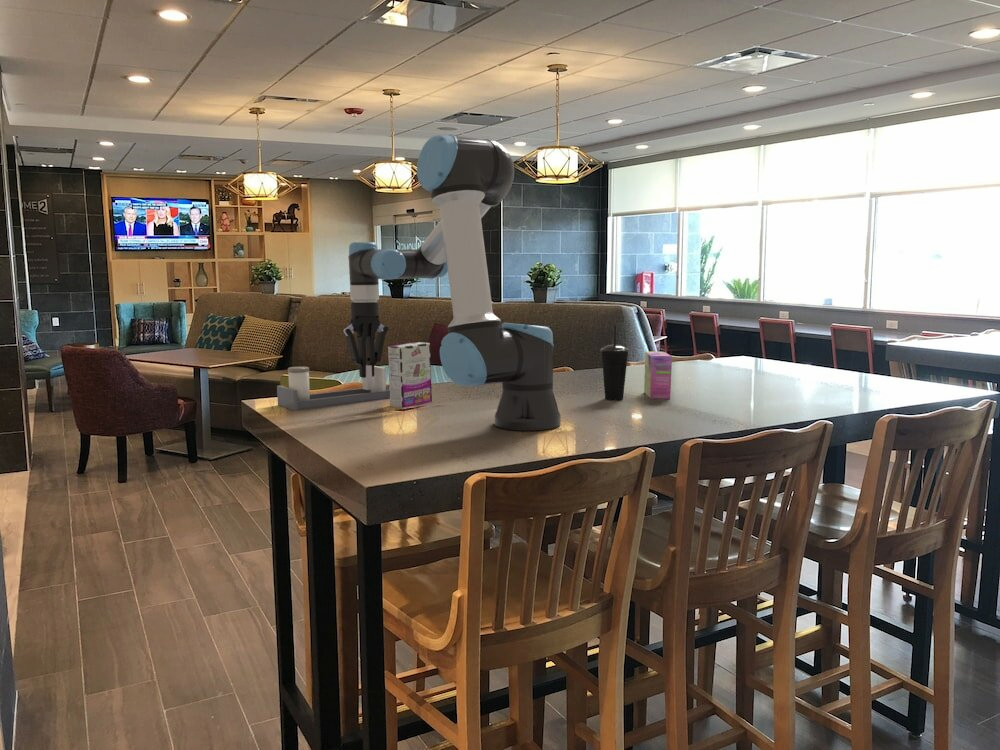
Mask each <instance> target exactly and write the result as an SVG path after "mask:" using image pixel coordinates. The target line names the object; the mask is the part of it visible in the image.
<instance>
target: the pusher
mask: <svg viewBox="0 0 1000 750" xmlns="http://www.w3.org/2000/svg"><path fill="white" fill-rule="evenodd" d="M386 379H387V378H386V367H383V366H377V365H374V377H372V390H371V392H379V391H386V385H387V383H386Z"/></svg>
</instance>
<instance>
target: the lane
mask: <svg viewBox="0 0 1000 750" xmlns="http://www.w3.org/2000/svg"><path fill="white" fill-rule="evenodd" d="M276 393H277V394H276V395H277V406H279V407H282V408H284V409H287V410H290V411H294V412H295V411H296V412H297V411H303V410H310V409H311V410H312V409H321V408H327V407H328V408H329V407H337V406H343V405H350V404H356V403H357V404H360V403H367V402H376V401H383V400H390V385H389V384H388V385H387V384H386V391H379V392H371V390H365V389H363V387H360V388H354V389H353V388H352V389H344V390H335V391H325V392H317V393H310V400H304V401H297V390H294V389H291V388H289V386H288V387H286V386H284V385H277V386H276Z"/></svg>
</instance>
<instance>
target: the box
mask: <svg viewBox="0 0 1000 750" xmlns="http://www.w3.org/2000/svg"><path fill="white" fill-rule="evenodd" d="M672 366H673V356H672V355H671V354H669V353H667V352H666V351H645V352H644V378H643V379H644V381H643V382H644V385H643V386H644V387H643V392H644V394H646V395H647V396H648V397H649V399H650V400H651V399H652V400H668V399H669V400H670V399H671V392H672V390H671V389H672V370H673V369H672Z"/></svg>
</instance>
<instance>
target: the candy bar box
mask: <svg viewBox="0 0 1000 750" xmlns="http://www.w3.org/2000/svg"><path fill="white" fill-rule="evenodd" d="M431 359H432V358H431V343H430V342H423V341H421V342H420V341H418V342H408V343H404V344H403V343H401V344H395V345H391V346H389V345H388V346H387V360H388V378H389V380H388V382H389V383H388V385H389V390H390V399H389V402H390V403H389V405H390V406H391V407H394V408H395V407H396V408H399V409H397V411H398V410H399V412H406V411H411V410H414V409H415V410H416V409H418V408H423V407H425V405H423V404H428V403H430V402H431V403H432V402H433V390H432V389H433V387H432V360H431ZM417 405H422V406H417ZM413 406H414V407H413ZM427 406H429V405H426V407H427Z"/></svg>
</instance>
